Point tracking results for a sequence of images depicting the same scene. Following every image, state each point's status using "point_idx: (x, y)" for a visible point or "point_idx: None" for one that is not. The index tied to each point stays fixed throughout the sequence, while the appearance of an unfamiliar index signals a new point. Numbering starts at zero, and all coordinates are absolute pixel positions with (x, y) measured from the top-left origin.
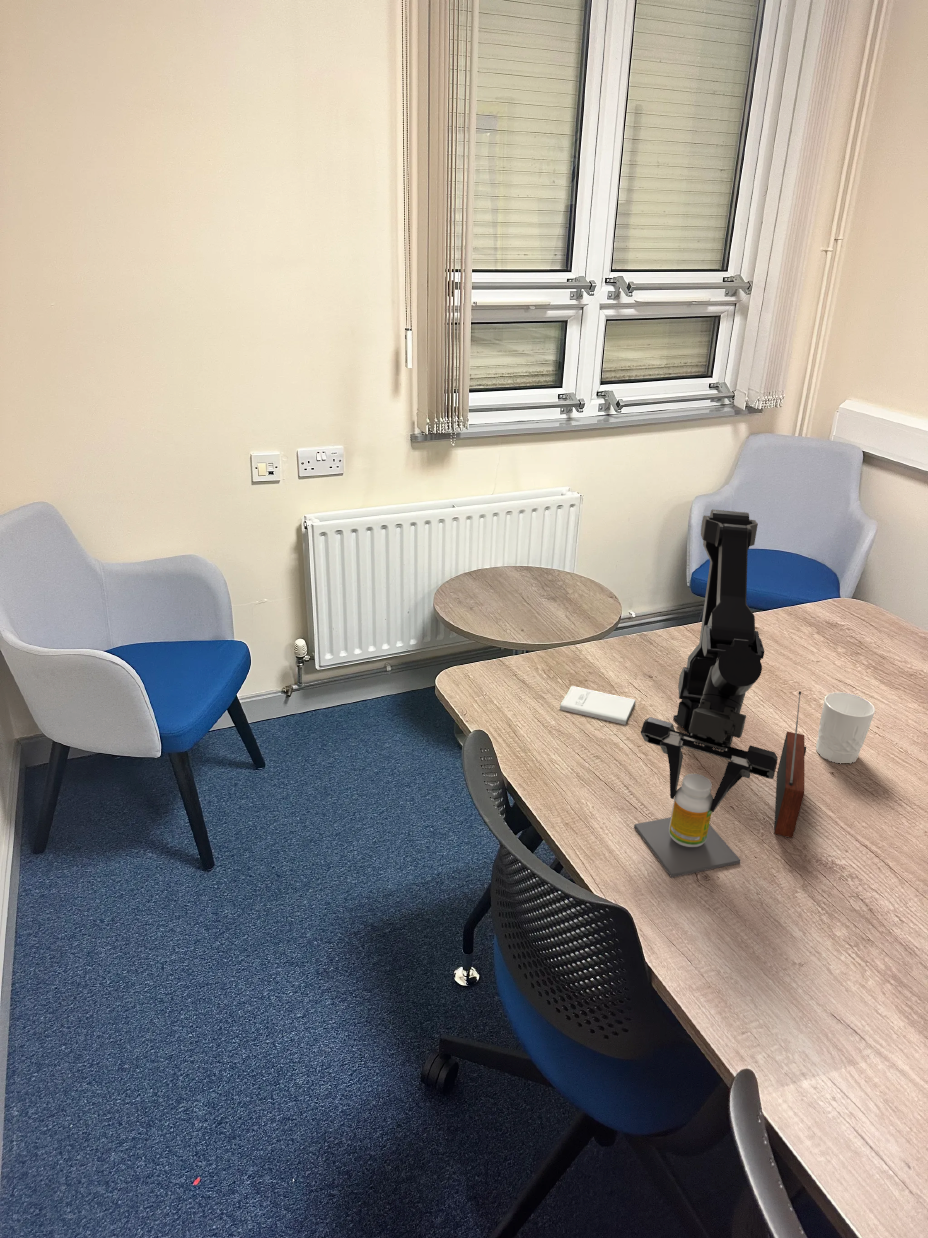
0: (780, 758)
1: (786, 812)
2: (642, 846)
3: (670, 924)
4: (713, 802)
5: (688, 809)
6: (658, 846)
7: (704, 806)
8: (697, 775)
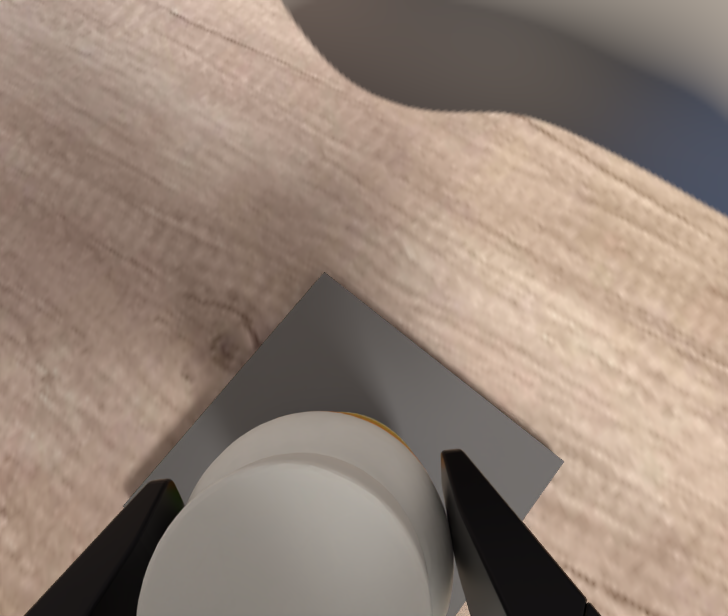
0: None
1: None
2: (478, 370)
3: (261, 97)
4: (138, 520)
5: (310, 411)
6: (423, 384)
7: (208, 472)
8: None
